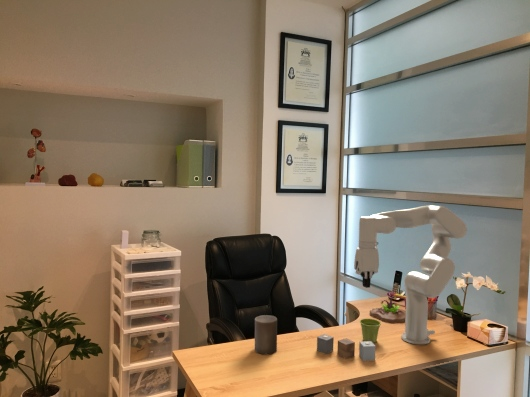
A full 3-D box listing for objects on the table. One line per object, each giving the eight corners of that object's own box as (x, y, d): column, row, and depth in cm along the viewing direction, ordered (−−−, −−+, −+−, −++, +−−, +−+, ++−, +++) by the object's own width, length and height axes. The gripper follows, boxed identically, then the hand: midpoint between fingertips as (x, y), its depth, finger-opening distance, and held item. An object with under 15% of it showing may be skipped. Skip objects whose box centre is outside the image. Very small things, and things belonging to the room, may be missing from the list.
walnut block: (346, 352, 177) (346, 338, 177) (354, 356, 173) (354, 342, 173) (337, 354, 175) (337, 340, 175) (345, 359, 171) (345, 344, 170)
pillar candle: (281, 351, 176) (281, 317, 176) (261, 356, 171) (262, 320, 171) (269, 344, 185) (269, 310, 184) (250, 348, 180) (250, 314, 179)
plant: (418, 320, 220) (419, 299, 219) (390, 325, 211) (390, 303, 210) (391, 309, 238) (392, 289, 237) (364, 313, 229) (365, 293, 228)
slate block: (370, 355, 175) (371, 340, 174) (375, 360, 170) (375, 345, 169) (359, 355, 174) (359, 341, 174) (363, 360, 169) (363, 345, 169)
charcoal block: (323, 347, 182) (324, 333, 182) (333, 350, 178) (333, 336, 178) (316, 350, 178) (317, 336, 178) (326, 354, 175) (326, 339, 174)
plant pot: (381, 345, 185) (381, 326, 184) (359, 343, 187) (359, 324, 186) (379, 337, 194) (380, 319, 193) (358, 335, 196) (359, 317, 195)
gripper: (376, 243, 186) (375, 283, 187) (348, 244, 180) (346, 286, 181) (387, 245, 179) (385, 287, 180) (357, 247, 173) (356, 290, 174)
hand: (366, 286), depth 181 cm, fingers closed
